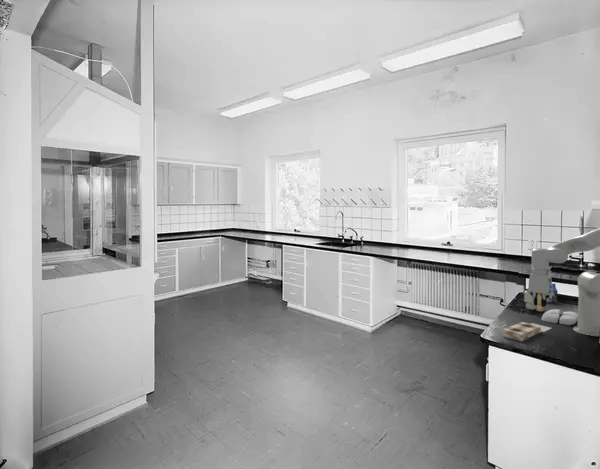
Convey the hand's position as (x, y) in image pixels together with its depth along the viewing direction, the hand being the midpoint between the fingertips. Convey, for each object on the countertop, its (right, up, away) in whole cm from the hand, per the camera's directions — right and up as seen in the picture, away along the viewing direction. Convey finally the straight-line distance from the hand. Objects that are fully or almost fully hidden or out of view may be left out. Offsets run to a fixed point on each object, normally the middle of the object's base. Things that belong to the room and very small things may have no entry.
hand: (540, 305), depth 191 cm
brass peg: (0, -3, 0) cm, 3 cm away
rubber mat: (-1, -12, +1) cm, 12 cm away
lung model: (+23, -12, +16) cm, 30 cm away
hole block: (-15, -13, -8) cm, 21 cm away
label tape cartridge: (+41, -8, +52) cm, 67 cm away
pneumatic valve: (+19, -10, +37) cm, 42 cm away
